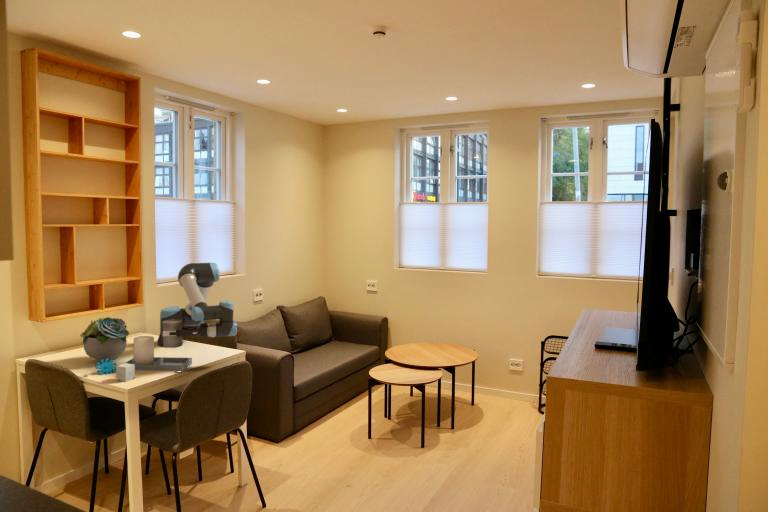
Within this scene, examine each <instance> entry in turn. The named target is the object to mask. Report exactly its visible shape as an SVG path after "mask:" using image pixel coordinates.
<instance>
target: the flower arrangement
mask: <svg viewBox="0 0 768 512" xmlns="http://www.w3.org/2000/svg"><path fill="white" fill-rule="evenodd" d="M127 327H128V326H127V325H126V322H125V321H124V320H123V319H122V318H115V317H111V316H110V317H109V316H108V317H107V316H106V317H99V318H97V319H96V320H94V321H93V320H91V321H90V324H89V325H87V327H86V328H85V329H84V331H83V332H82V333H80V335H79V336H80V338H82V344H83V349H84V352H85V354H86V355H87V356H88V357H90V358H92V359H95V360H96V362H97V363H98V362H100V364H102V362H101V360H102V359H103V360H104V361H103V363H105V362H106V358H107V359H109V360H108V361H107V362H110V361H111V359H112V360H113V361H115V360H116V358H117V357H119V356H120V355H122V354H123V352H125V350H126V348H127V337H128V336H129V335H130V331H128V330H127ZM110 363H111V362H110Z"/></svg>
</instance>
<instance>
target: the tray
mask: <svg viewBox="0 0 768 512" xmlns="http://www.w3.org/2000/svg"><path fill="white" fill-rule="evenodd" d="M125 363H128V364H134V357H132V358H131V359H128V361H126V362H125ZM192 364H193V357H170V356H168V357H167V356H166V357H165V356H164V357H163V356H156V357H155V356H154V364H153V365H135V371H174V372H175V371H181V372H180V373H183V372H184V371H186V370H187V369H188V368H189V367H190V366H191V365H192ZM188 366H189V367H188ZM187 367H188V368H187ZM186 368H187V369H186ZM185 369H186V370H185ZM183 370H184V371H183Z"/></svg>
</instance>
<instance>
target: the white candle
mask: <svg viewBox="0 0 768 512" xmlns="http://www.w3.org/2000/svg"><path fill="white" fill-rule="evenodd" d="M154 357H155V337H154V336H152V335H151V336H150V335H140V336H137V337H133V358H134V364H135V365H153V364H154Z"/></svg>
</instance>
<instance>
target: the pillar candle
mask: <svg viewBox="0 0 768 512" xmlns="http://www.w3.org/2000/svg"><path fill="white" fill-rule="evenodd" d="M176 330H178V331H181V330H182V320H180V319H170V320H165V321H163V331H176ZM182 339H183V336H181V337H177V336H163V346H162V347H163V348H166V349H169V348H170V349H174V348H175V349H176V348H180V347H182V346H183V344H182Z"/></svg>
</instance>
